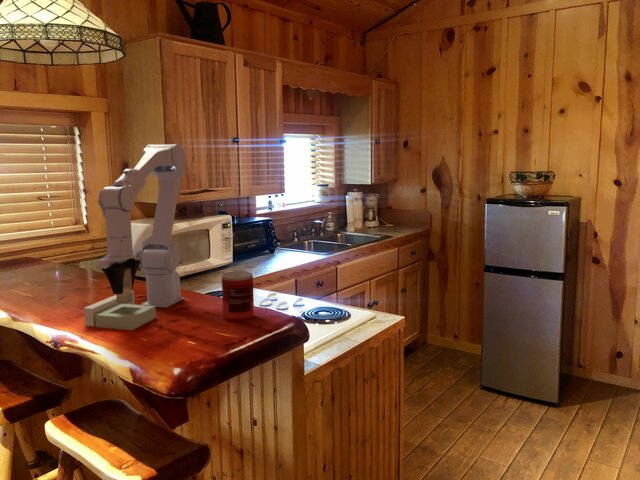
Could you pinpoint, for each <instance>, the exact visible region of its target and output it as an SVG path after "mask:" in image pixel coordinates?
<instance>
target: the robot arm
mask: <svg viewBox="0 0 640 480" xmlns="http://www.w3.org/2000/svg"><path fill="white" fill-rule="evenodd" d="M186 161H187V155H186V152H185V149H184V147H183V145H181V144H180V143H175V144H171V143H169V144H153V143H149V144H147V145H146V146H145V148H143V150H142V157H141V158H140V160H139V161H138V163H137V164H136V165H135V167H134V168H125V169H124V170H123V171H122V172H123V173H122V174H121V175H120V176H119V177H118V178H117V179H116V180H115V181H114V182H113V184H111V186H105V187H104V188H103V189H101V191H99V194H98V199H97V204H98V207H100V210H101V215H102V217H103V219H104V221H105V224H104V225H105V233H106V234H105V236H106V247H107V248H106V249H107V255H105V256H104V257H102V258H100V259H98V260H97V268H98V269H100V270H101V271H102V272H103V273H104V275H105V277H106V278H107V280H108V283H109V285H110V287H111V290H112V294H113V295H116V294H122V293H123V277H124V273H125V269H126V268H131V282H132V290H133V288H134V284H135V278H136V274H137V272H138V269H139V268H140V269H141V270H142V272H143V273H144V274H145V282H146V295H147V296H146V297H147V298H146V299H147V301H144V302H143V303H141V304H140V305H146V306H155V308H169V307H171V306H172V305H174V304H176V303H178V302H180V301H182V300H184V298H185V297H183V296H182V295H181V294H182V293H181V278H180V275H179V273H178V271H176V270H177V269H178V267H179V264H180V245H179V243H177V242H176V241H175V240H174V238H172V235H173V234H172V233H173V227H174V224H175V223H174V222H175V215H176V210H177V209H176V207H177V201H178V197H179V190H180V182H181V179H182V178H183V176H184V175H185V170H186V169H185V168H186V163H187V162H186ZM150 174H152V175H153V177H156V178H158V179H159V182H160V183H159V189H158V194H157V200H156V207H155V213H154V218H153V224H152V225H153V226H152V231H151V235H150V236H149V237H147V238H146V239H144V240H143V241H142V245H141V248H140V249H137V248H134V249H133V236H132V232H133V231H132V221H131V220H132V219H131V210H132V209H134V206H135V203H136V199H137V195H138V194H139V193H140V192H141V191H142V189H143V188H144V187H145V186H146V182H147V181H146V178H147V177H148V176H150ZM136 258H137V259H136Z"/></svg>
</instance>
